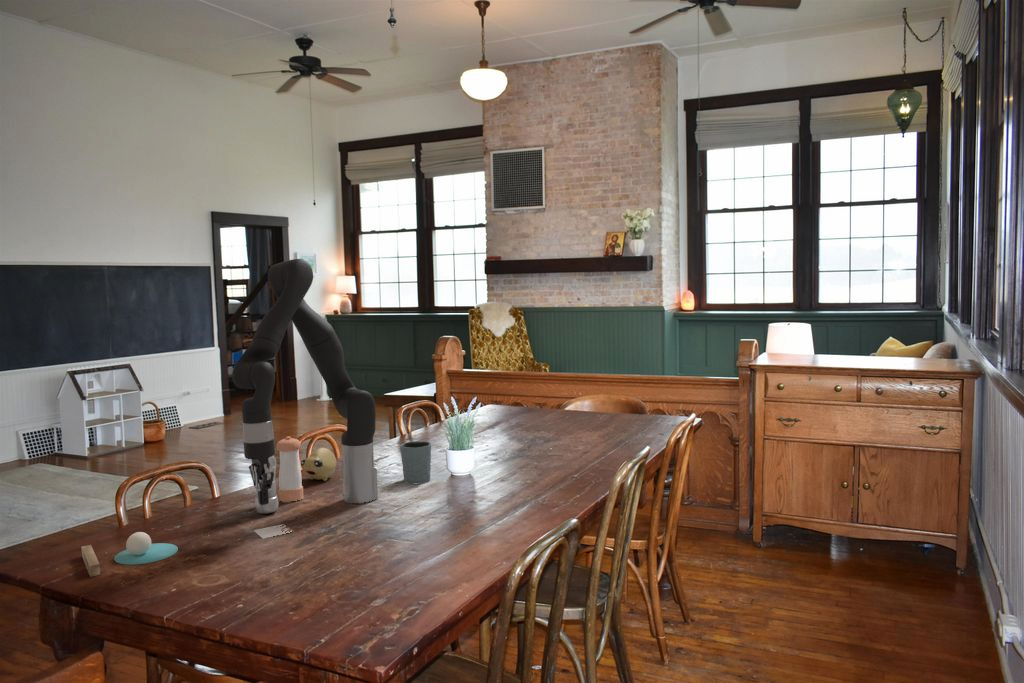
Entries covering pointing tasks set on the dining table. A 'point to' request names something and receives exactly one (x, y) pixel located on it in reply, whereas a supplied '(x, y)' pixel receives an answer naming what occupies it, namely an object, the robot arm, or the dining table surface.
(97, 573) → the bar
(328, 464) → the yellow plush toy
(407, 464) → the dark grey pot
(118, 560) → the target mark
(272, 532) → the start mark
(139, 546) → the ball
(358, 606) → the dining table surface
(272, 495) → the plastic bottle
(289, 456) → the pepper shaker
